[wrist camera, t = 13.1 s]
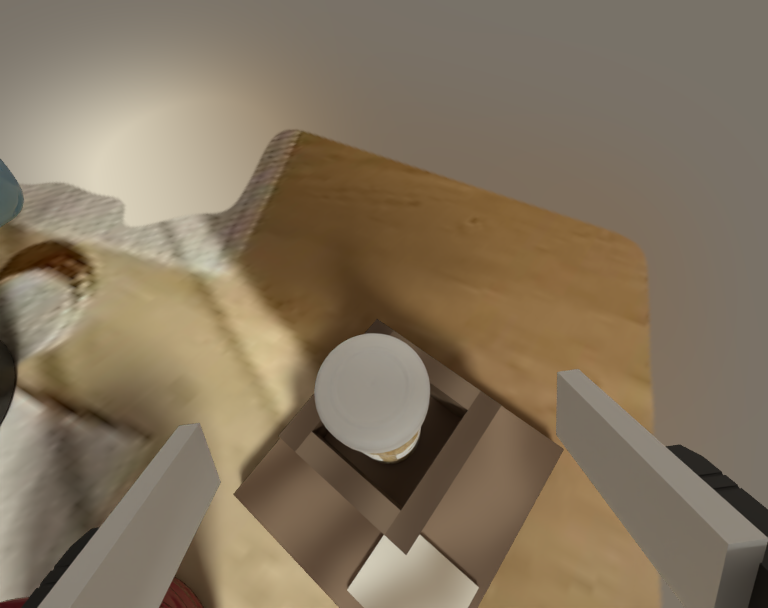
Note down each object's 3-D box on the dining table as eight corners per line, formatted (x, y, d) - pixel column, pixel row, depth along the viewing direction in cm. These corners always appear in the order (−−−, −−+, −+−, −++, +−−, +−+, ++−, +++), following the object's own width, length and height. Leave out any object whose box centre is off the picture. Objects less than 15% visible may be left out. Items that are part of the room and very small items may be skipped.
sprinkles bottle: (430, 451, 25) (450, 425, 13) (367, 474, 25) (327, 469, 13) (407, 388, 27) (407, 315, 15) (349, 408, 27) (300, 350, 15)
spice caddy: (242, 493, 26) (207, 495, 22) (380, 327, 31) (374, 301, 27) (425, 687, 21) (429, 741, 17) (556, 451, 26) (585, 444, 22)
